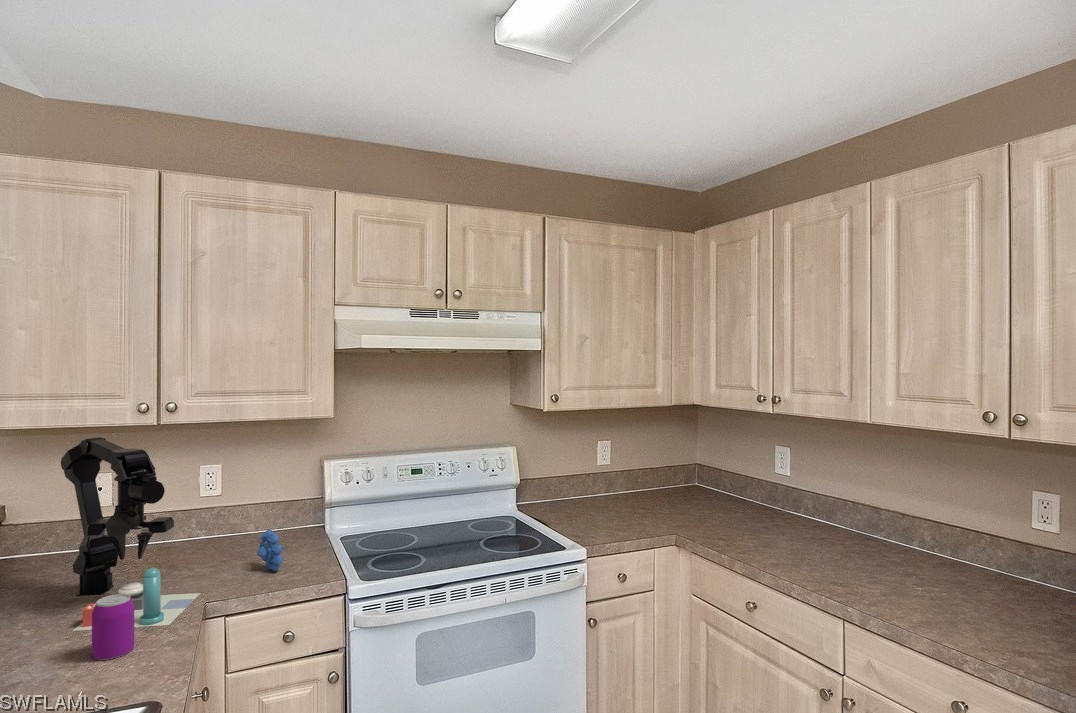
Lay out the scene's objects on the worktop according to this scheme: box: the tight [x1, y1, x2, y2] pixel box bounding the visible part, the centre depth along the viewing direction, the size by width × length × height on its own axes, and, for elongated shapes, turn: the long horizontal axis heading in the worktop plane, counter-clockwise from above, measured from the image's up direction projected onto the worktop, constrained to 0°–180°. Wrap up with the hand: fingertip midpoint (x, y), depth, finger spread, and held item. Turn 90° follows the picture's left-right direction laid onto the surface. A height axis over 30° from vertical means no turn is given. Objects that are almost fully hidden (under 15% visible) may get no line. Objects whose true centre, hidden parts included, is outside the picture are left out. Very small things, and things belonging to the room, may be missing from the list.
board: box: [72, 592, 201, 632], centre depth 159 cm, size 21×20×1 cm
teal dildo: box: [140, 567, 164, 625], centre depth 153 cm, size 5×5×13 cm
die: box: [82, 602, 96, 627], centre depth 152 cm, size 4×4×4 cm
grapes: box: [256, 528, 284, 572], centre depth 189 cm, size 12×7×12 cm, turn 48°
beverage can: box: [91, 594, 135, 661], centre depth 137 cm, size 8×8×12 cm
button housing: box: [112, 590, 143, 610], centre depth 163 cm, size 9×9×2 cm
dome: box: [117, 582, 143, 597], centre depth 163 cm, size 6×6×2 cm
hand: (131, 559), depth 163 cm, fingers open, 4 cm apart
